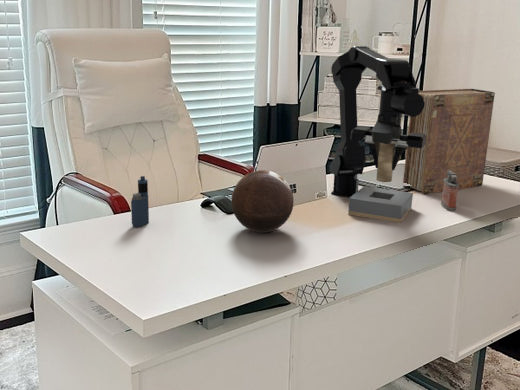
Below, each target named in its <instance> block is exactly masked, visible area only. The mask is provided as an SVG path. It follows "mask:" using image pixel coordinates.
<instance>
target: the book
mask: <svg viewBox="0 0 520 390" xmlns="http://www.w3.org/2000/svg"><path fill="white" fill-rule="evenodd" d="M418 94H420V95H421V96H422V97H423V99H424V102H425V105H424V109H423V111H422V112H421V113H420V114H419V115H418V116H415V117H411V116H409V120H408V121H409V123H408V129H407V135H409V134H410V133H411V132H413V133H421V134H425V135H426V137H427V139H426V145H425V146H424V147H422V148H414V147H409V148H408V149H405V150H406V151H405V161H404V169H403V170H404V171H403V177H402V178H403V179H402V184H403V183H407V184H410V185H412V188H411V189H413V190H416V191H419V192H422V194H423V195H429V194H436V193H443V188H444V178H448V177H449V176H448V175H447V171H452V172H453V173H456V176H457V179H456V181H457V182H458V183H459V188H458V190H461V189H469V188H475V187H481V186H483V182H484V175H485V169H486V167H485V166H486V161H487V153H488V145H489V138H490V131H491V125H492V123H491V122H492V115H493V109H494V102H495V101H494V100H495V95H496V92H494V91H489V90H482V89H476V88H458V89H457V88H455V89H433V90H431V89H429V90H428V89H427V90H419V93H418Z"/></svg>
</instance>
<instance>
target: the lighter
mask: <svg viewBox="0 0 520 390" xmlns="http://www.w3.org/2000/svg"><path fill="white" fill-rule="evenodd" d="M447 175H448V176H449V177H448V178H444V188H443V192H442V196H441V199H440V205H441V207H442V208H443V209H445V211H448V212H456V211H457V200H458V192H459V189H458V188H459V183H458V182H457V181H456V179H457V176H456V173H453V172H452V171H447Z"/></svg>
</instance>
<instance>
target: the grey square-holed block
mask: <svg viewBox="0 0 520 390" xmlns="http://www.w3.org/2000/svg"><path fill="white" fill-rule="evenodd" d="M413 195H414V193H413V192H407V191H401V190H394V189H389V188H388V189H386V188H379V187H373V186H367V185H363V186H362V187H361V188H360V189H358V191H357V192H356V193H355V194H354V195H353V196H352V197H349V198H348V199H349V200H348V213H347V214H348V215H350V216H357V217H363V218H369V219H375V220H382V221H386V222H393V223H398V224H399V223H402V221H403V220H404V219H405V217H406V216H407V214H409V212H410V211H411V210H412V208H413V207H412V206H413V205H412V204H413V197H414V196H413Z"/></svg>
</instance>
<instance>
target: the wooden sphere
mask: <svg viewBox="0 0 520 390" xmlns="http://www.w3.org/2000/svg"><path fill="white" fill-rule="evenodd" d="M294 202H295V201H294V193H293V191H292V188H291V186H290V184H289V183H288V182H287V180H286V179H285V178H284V177H282V176H281V175H280V174H278V173H276V172H273V171H270V170H265V169H264V170H263V169H261V170H260V169H259V170H254V171H251V172H249V173H247V174H245V175H244V176H243V177H241V178H240V179H239V180H238V182H237V183H236V184H235V187H234V188H233V191H232V195H231V209H232V212H233V214H234V216H235V219H236V220H237V221H238V222H239V223H240V224H241V226H243V227H245V228H246V229H248V230H250V231H252V232H255V233H268V232H273V231H275V230H278V229H279V228H281V227H282V226H283V225H284V224H286V222H287V221H288V219H289V218H290V217H291V215H292V212H293V209H294Z"/></svg>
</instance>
